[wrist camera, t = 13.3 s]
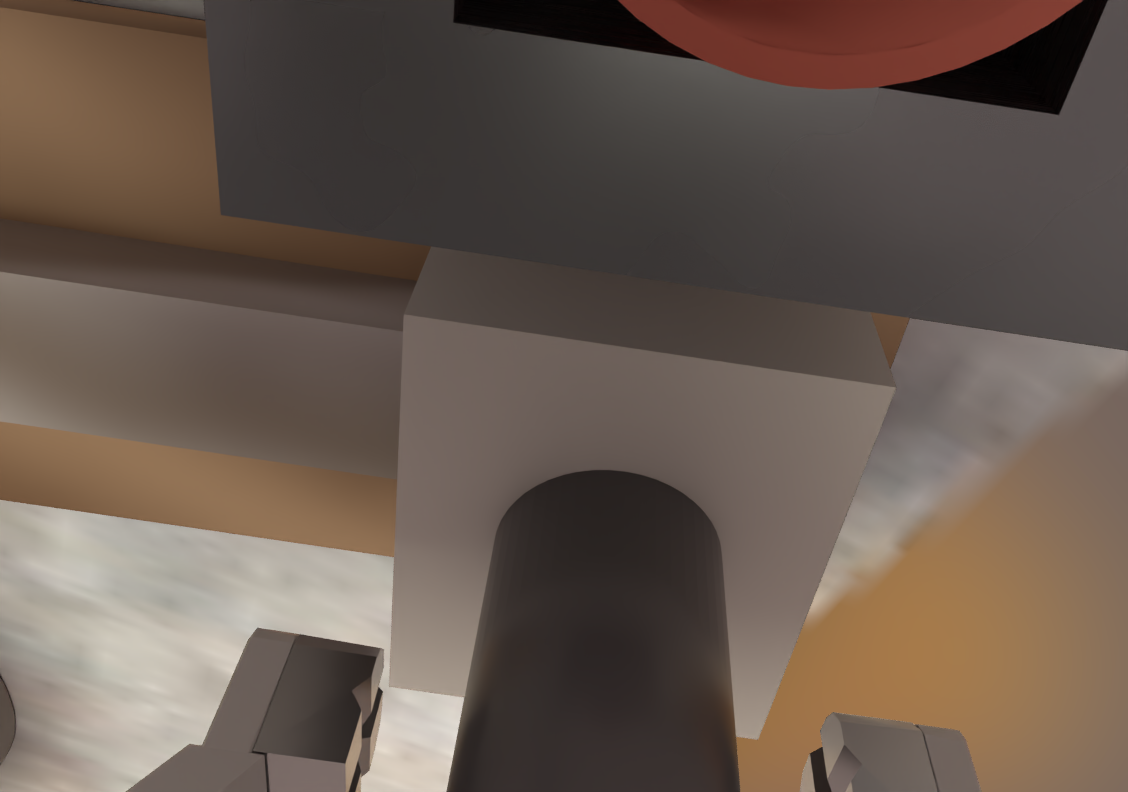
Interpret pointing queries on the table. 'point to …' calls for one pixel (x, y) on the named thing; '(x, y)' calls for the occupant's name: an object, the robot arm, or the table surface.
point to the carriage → (616, 513)
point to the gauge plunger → (844, 35)
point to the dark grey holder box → (690, 156)
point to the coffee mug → (6, 722)
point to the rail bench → (164, 178)
